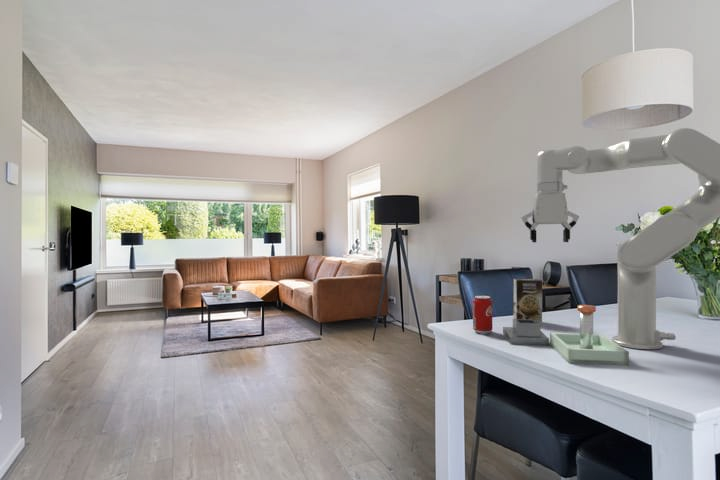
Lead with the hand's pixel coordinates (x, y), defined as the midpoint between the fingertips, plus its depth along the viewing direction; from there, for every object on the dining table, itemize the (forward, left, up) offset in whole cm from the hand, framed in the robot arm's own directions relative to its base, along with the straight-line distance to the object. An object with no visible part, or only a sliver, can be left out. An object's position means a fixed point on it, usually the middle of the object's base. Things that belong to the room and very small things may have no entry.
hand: (549, 242), depth 136 cm
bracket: (+9, +5, -30) cm, 32 cm away
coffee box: (+3, -20, -31) cm, 37 cm away
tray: (-4, +21, -30) cm, 37 cm away
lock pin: (-4, +21, -29) cm, 36 cm away
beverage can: (+21, -2, -31) cm, 37 cm away
